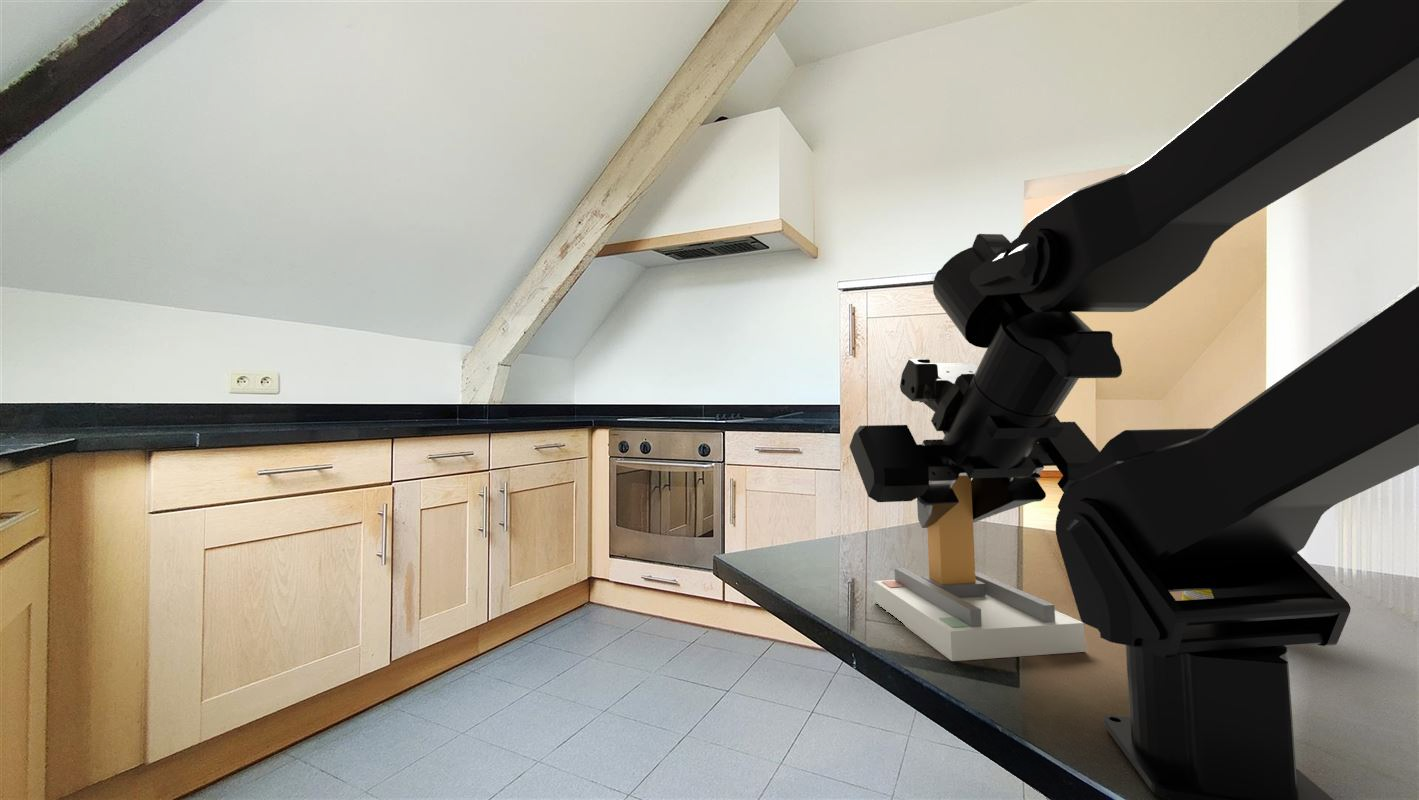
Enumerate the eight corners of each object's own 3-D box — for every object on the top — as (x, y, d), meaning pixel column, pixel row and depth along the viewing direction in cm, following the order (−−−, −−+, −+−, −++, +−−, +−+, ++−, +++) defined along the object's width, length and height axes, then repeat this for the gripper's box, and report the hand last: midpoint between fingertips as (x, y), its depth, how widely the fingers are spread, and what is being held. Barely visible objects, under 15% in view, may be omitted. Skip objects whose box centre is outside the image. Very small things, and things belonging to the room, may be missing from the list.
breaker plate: (1085, 651, 40) (1082, 605, 40) (951, 661, 38) (949, 613, 39) (977, 597, 52) (975, 562, 53) (874, 603, 51) (873, 567, 51)
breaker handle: (985, 595, 46) (978, 449, 47) (939, 598, 46) (933, 450, 46) (964, 585, 49) (958, 448, 50) (921, 588, 49) (916, 449, 49)
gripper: (1073, 323, 46) (995, 452, 56) (854, 322, 44) (815, 457, 54) (1168, 416, 38) (1057, 548, 48) (904, 421, 36) (847, 558, 46)
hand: (940, 522), depth 49 cm, fingers closed on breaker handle, 3 cm apart
